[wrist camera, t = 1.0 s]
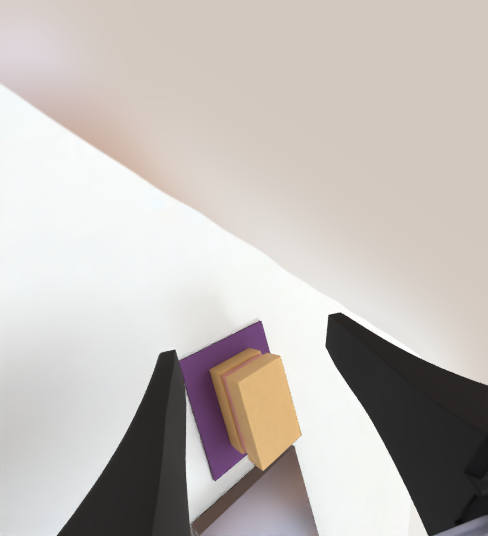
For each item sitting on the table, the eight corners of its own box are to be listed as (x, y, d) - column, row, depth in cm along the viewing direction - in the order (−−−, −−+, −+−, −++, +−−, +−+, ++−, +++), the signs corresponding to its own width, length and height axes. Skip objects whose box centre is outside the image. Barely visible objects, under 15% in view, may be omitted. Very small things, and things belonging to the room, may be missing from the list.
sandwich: (268, 416, 30) (302, 435, 26) (231, 445, 27) (262, 471, 23) (248, 347, 29) (280, 355, 25) (208, 369, 26) (237, 382, 22)
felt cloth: (286, 419, 32) (288, 419, 31) (213, 479, 26) (215, 481, 26) (259, 320, 31) (261, 321, 30) (178, 361, 25) (179, 362, 25)
